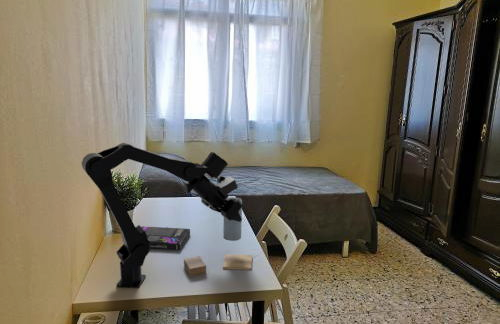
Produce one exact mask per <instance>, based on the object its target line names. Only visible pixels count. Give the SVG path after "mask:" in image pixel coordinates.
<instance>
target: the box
mask: <svg viewBox="0 0 500 324" xmlns="http://www.w3.org/2000/svg"><path fill="white" fill-rule="evenodd" d="M141 227H142V228H143V229H144V231H145V232H146V235H147V238H148V239H149V241H150V242H151V243H149V245H150V250H161V251H165V250H166V251H182V248H183V247H184V246H185V244H186V243H187V241H188V240H189V238H190V237H191V228H178V227H163V226H162V227H159V226H141Z"/></svg>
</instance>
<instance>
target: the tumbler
mask: <svg viewBox="0 0 500 324" xmlns="http://www.w3.org/2000/svg"><path fill="white" fill-rule="evenodd" d="M230 199H235V200H237V201H239V202H240V203H241V204H242V205H243V200H242V198H241V197H233V196H232V197H228V198H227V199H226V200H228V201H229V200H230ZM224 203H225V202H224ZM238 212H239V214H240V216H241V218H242V217H243V216H242V215H243V207H242V208H241V209H240V210H239V211H238ZM242 219H243V218H242ZM242 221H243V220H242ZM242 221H241V222H238V221H235V220H228V219H226V218H225V217H223V228H222V229H223V233H222V235H223V236H222V237H223V239H224V240H226V241H229V242H230V241H231V242H233V241H234V242H235V241H240V240H241V239H242V226H243V225H242Z"/></svg>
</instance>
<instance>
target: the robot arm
mask: <svg viewBox="0 0 500 324" xmlns="http://www.w3.org/2000/svg"><path fill="white" fill-rule="evenodd" d="M127 160H130V161H134V162H137V163H141V164H143V165H147V166H149V167H152V168H156V169H159V170H163V171H166V172H168V173H169V174H171V175H174V176H175V177H177V178H179V179H180V180H182V181H184V182H183V191H184V192H186V193H187V194H190V193H191V192H192V191H194V193H196V194H197V195H198V196H199V198H200V199H201V200H200V201H201V204H203V205H204V206H206V207H207V208H209V209H210V210H211V211H214V212H217V213H220V214H221V216H222V217H223V218H224V217H225V218H226V219H228V220H235V221H238V222H241V221H243V218H241V216H240V214H239V212H238V211H239V210H240V209H241V208H242V209H243V203H242V204H241V203H240V202H239V201H237V200H235V199H230V200H229V201H228V200H226V199H227V198H229V194H230V193H232V192H234V190H237V189H238V188H239V186H238V184H237V181H236V180H235V178H234V177H230V176H223V175H221V174H222V173H223V172H224V171H225V170H226V168H227V167H228V166H229V164H228V162H227V161H226V160H225V159H224V158H223V157H221V156H219V155H218V154H217V153H215V152H213V151H211V152H210V153H209V154H208V156H207V157H206V158H205V159H204V161H203V162H202V163H201V164H200V163H197V162H192V161H190V160H187V159H183V158H177V157H176V158H175V157H167V156H163V155H161V154H159V153H158V154H157V153H154V152H153V151H150V150H149V151H148V150H145V149H142V148H140V147H136V146H134V145H132V144H130V143H128V142H121V143H119V144H118V145H116V146H112V147H109V148H107V149H104V150H102V151H100V152H97V153H96V152H91V153H88V154H86V155H85V156H84V157H83V158H82V161H81V167H82V169H83V171H84V172H85V174H87V176H88V177H89V178H90V180H91V181H92V182H93V183H94V184H95V186H96V187H97V188H98V189H99V191H100V194H101V195H102V197H103V199H104V201H105V203H106V205H107V207H108V209H109V211H110V213H111V214H112V216H113V217H114V218H113V219H114V220H115V222H116V225H117V226H118V227H119V230H120V235H121V239H122V243H123V244H122V245H121V246H120V247H119V249H118V250H117V251H116V255H117V257H118V259H119V260H120V262H119V269H120V271H119V272H120V279H119V281H118V282H117V283H116V287H118V288H140V286H141V285H142V283H143V282H144V280H145V278H146V274H143V273H142V266H143V265H144V263H145V260H146V257H147V256H148V254H149V253H150V251H151V249H150V245H149V243H151V242H150V241H149V239H148V238H147V235H146V232H145V231H144V229H143V228H142V226H141V225H140V224H138V225H137V226H135V223H134V222H133V219H132V217H131V216H130V214H129V212H128V210H127V208H126V206H125V204H124V202H123V200H122V198H121V196H120V194H119V192H118V190H117V187H116V186H115V184H114V180H113V179H114V178H113V174H112V170H113V169H115V168H117V167H118V166H119V165H121V164H123V163H124V162H125V161H127ZM210 179H211V180H213V179H215V180H216V179H217V180H216V184H215V183H214V182H212V181H211V180H210ZM224 202H225V203H224Z"/></svg>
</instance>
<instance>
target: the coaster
mask: <svg viewBox="0 0 500 324" xmlns="http://www.w3.org/2000/svg"><path fill="white" fill-rule="evenodd" d="M224 255H225V256H224V260H223V265H222V269H223V270H247V271H249V270H252V267H253V255H252V254H224Z"/></svg>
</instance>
